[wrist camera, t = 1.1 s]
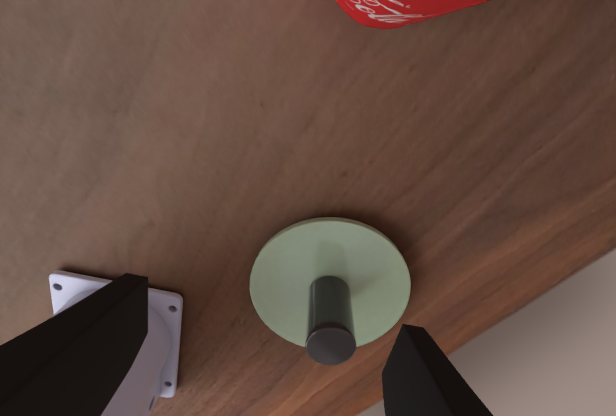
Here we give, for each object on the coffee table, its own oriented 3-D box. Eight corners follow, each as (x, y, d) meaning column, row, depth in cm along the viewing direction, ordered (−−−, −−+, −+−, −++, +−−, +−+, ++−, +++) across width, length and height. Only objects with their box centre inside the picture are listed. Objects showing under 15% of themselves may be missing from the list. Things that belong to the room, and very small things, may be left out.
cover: (379, 348, 23) (394, 425, 18) (243, 322, 22) (222, 394, 18) (429, 231, 19) (464, 289, 14) (266, 195, 18) (247, 245, 14)
